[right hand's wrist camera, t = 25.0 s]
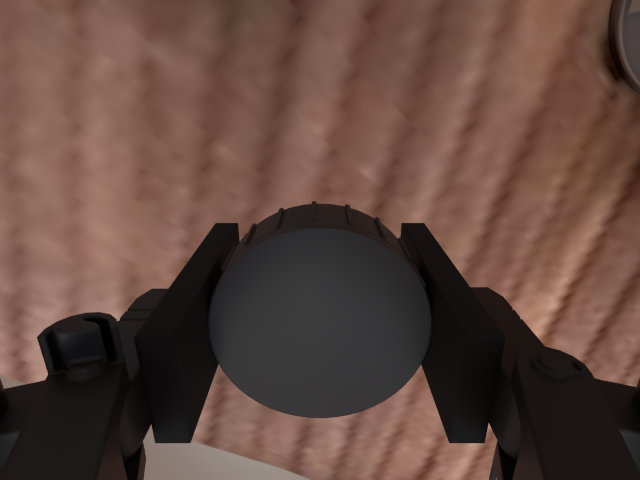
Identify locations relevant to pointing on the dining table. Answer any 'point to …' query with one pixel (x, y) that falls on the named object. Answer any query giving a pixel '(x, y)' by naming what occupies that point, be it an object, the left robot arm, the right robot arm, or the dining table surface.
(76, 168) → the dining table surface
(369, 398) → the lid
